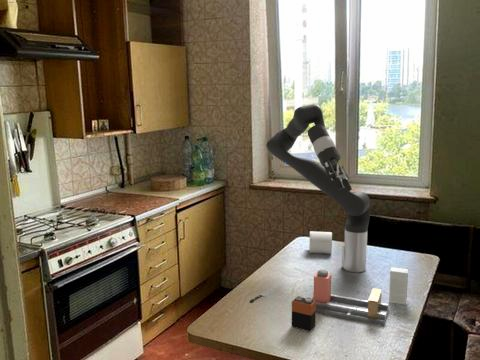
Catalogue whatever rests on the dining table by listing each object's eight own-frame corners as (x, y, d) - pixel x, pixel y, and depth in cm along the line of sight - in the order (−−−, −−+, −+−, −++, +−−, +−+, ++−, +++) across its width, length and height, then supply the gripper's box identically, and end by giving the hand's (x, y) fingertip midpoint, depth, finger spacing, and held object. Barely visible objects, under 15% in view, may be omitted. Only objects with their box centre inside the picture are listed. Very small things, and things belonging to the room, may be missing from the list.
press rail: (306, 311, 161) (306, 290, 160) (315, 297, 172) (315, 278, 171) (384, 325, 151) (385, 304, 150) (388, 309, 162) (389, 289, 160)
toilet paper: (309, 255, 215) (309, 235, 213) (309, 248, 225) (310, 228, 223) (331, 256, 213) (332, 236, 212) (330, 249, 223) (331, 229, 221)
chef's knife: (283, 287, 182) (276, 285, 184) (283, 285, 182) (276, 282, 183) (255, 305, 167) (248, 302, 168) (255, 302, 167) (248, 300, 168)
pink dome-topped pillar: (313, 303, 164) (313, 273, 161) (316, 297, 168) (317, 268, 166) (327, 305, 162) (328, 275, 159) (330, 300, 166) (331, 270, 164)
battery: (310, 332, 147) (311, 302, 145) (290, 327, 151) (291, 298, 149) (315, 326, 151) (316, 297, 149) (296, 321, 154) (296, 293, 152)
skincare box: (406, 299, 169) (408, 268, 167) (406, 305, 165) (408, 273, 163) (388, 297, 171) (390, 266, 169) (388, 302, 167) (390, 271, 165)
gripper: (325, 159, 179) (343, 196, 173) (309, 153, 167) (328, 193, 161) (342, 149, 176) (361, 186, 170) (327, 142, 164) (347, 182, 158)
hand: (345, 189), depth 166 cm, fingers open, 8 cm apart
